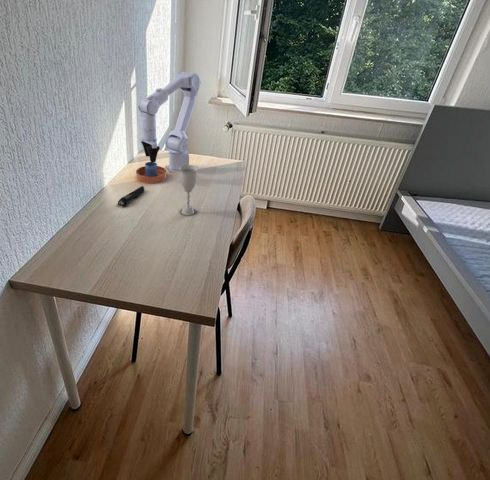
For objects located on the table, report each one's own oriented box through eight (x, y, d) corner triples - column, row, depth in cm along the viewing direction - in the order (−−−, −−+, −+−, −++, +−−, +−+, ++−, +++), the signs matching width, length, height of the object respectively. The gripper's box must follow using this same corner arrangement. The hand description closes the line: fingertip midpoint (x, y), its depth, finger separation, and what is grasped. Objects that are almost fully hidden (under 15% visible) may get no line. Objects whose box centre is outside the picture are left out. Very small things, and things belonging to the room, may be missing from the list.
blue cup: (155, 174, 165) (154, 161, 162) (158, 178, 161) (158, 165, 158) (144, 175, 163) (143, 162, 160) (147, 180, 159) (146, 166, 156)
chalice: (194, 217, 133) (195, 173, 123) (177, 215, 134) (177, 171, 124) (198, 208, 139) (199, 165, 129) (181, 206, 140) (182, 164, 130)
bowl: (161, 170, 170) (160, 164, 168) (170, 182, 160) (170, 174, 158) (133, 174, 165) (132, 167, 164) (140, 186, 155) (140, 178, 153)
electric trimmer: (146, 193, 149) (146, 186, 148) (124, 207, 138) (124, 200, 136) (139, 191, 151) (139, 184, 149) (117, 205, 139) (116, 198, 137)
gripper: (135, 124, 154) (137, 154, 161) (144, 134, 143) (146, 165, 150) (151, 123, 156) (152, 152, 164) (161, 132, 145) (162, 163, 153)
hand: (150, 158), depth 157 cm, fingers open, 7 cm apart
